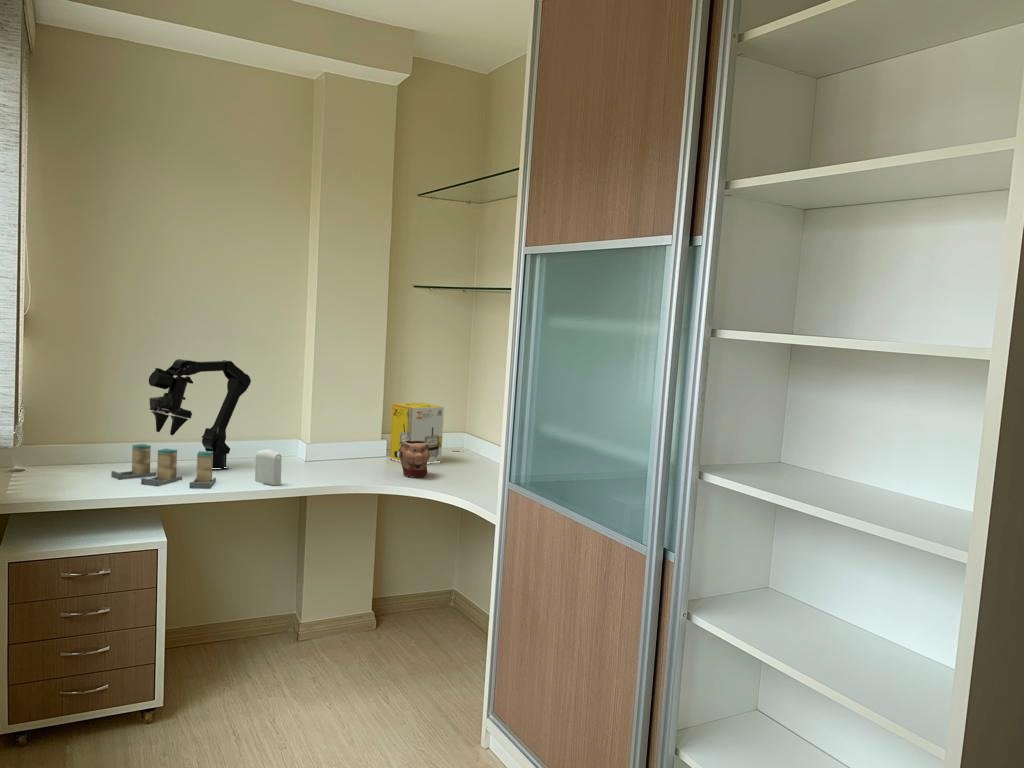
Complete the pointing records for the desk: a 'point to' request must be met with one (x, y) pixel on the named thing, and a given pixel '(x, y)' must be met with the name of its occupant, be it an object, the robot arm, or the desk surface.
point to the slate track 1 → (130, 475)
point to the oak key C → (204, 466)
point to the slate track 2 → (158, 481)
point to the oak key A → (141, 459)
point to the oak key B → (166, 464)
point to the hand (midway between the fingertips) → (164, 433)
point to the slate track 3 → (202, 484)
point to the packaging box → (417, 427)
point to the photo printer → (268, 467)
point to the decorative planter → (414, 458)
